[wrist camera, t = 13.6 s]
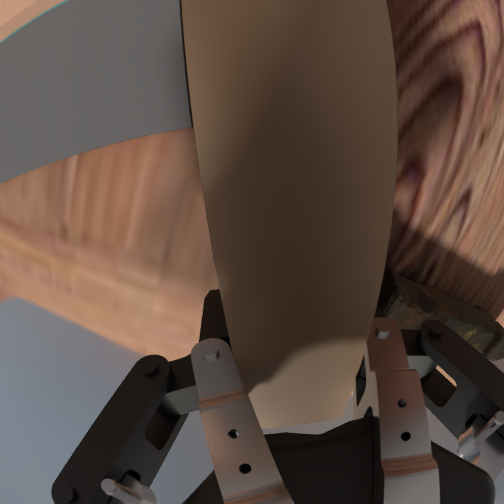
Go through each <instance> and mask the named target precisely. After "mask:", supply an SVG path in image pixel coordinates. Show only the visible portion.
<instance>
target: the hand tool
mask: <svg viewBox="0 0 504 504" xmlns="http://www.w3.org/2000/svg"><path fill="white" fill-rule="evenodd" d="M377 305H378V307H379V309H380V311H381V312H382V314H383V316H384V317H385V318H389V319H391V320H393V321H395V322H396V323H397V324H398V326H399V327H400V329H411V330H419V329H420V327H421V325H422V323H423V322H425V321H427V320H438V321H441V322H443V323H444V324H446V325H447V326H448V327H450V328H451V329H452V330H453V331H455V332H456V333H457V334H458V335H459V336H461V337H462V338H463V339H464V340H466V341H467V342H468V343H469V344H470V345H472V346H473V347H474V348H475V349H476V350H477V351H479V352H480V353H481V354H482V355H483V356H485V357H486V358H487V359H488V360H492V361H494V360H495V359H496V360H499V359H502V358H504V328H503V327H502V326H501V325H500V324H499V323H498V322H497V321H495V320H494V319H493V318H492V317H491V315H490V314H488V313H487V312H486V310H484V309H483V308H482V307H480V306H477V307H476V308H474V307H473V306H471V305H468V304H466V303H464V302H463V301H461V300H459V299H455V298H452V297H450V296H448V295H445V294H444V293H443V292H440V291H438V290H437V289H435V288H433V287H431V286H429V285H423V284H421V283H416V282H414V281H411V280H409V279H406V278H403V277H401V276H399V275H397V274H396V273H395V271H394V270H393V269H392V267H391V266H390V265H389V264H388V263H385V269H384V274H383V279H382V284H381V289H380V294H379V298H378V303H377Z"/></svg>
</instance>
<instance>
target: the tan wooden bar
mask: <svg viewBox="0 0 504 504" xmlns="http://www.w3.org/2000/svg"><path fill="white" fill-rule="evenodd" d="M181 1H182V16H183V29H184V41H185V52H186V63H187V73H188V82H189V92H190V100H191V109H192V117H193V125H194V133H195V141H196V148H197V155H198V162H199V169H200V176H201V183H202V190H203V196H204V202H205V209H206V215H207V221H208V227H209V233H210V239H211V245H212V250H213V256H214V262H215V267H216V273H217V278H218V283H219V289H220V294H221V299H222V304H223V309H224V314H225V319H226V324H227V329H228V334H229V339H230V344H231V348H232V353H233V357H234V360H235V363H236V366H237V369H238V372H239V375H240V377H241V380H242V383H243V386H244V389H245V391H247V393H248V395H249V398H250V400H251V403H252V406H253V408H254V411H255V414H256V416H257V419H258V421H259V424H260V427H261V429H267V428H277V427H285V426H293V425H300V424H307V423H313V422H318V421H324V420H329V419H334V418H339V417H342V416H343V414H344V411H345V409H346V406H347V403H348V401H349V398H350V395H351V392H352V390H353V382H354V379H355V377H356V376H357V375H358V372H359V369H360V365H361V362H362V359H363V356H364V346H365V343H366V340H368V338H369V335H370V331H371V327H372V323H373V319H374V315H375V311H376V307H377V303H378V298H379V294H380V289H381V284H382V279H383V274H384V269H385V263H386V257H387V251H388V245H389V238H390V231H391V224H392V216H393V207H394V197H395V186H396V172H397V151H398V99H397V79H396V66H395V56H394V47H393V39H392V31H391V25H390V19H389V13H388V8H387V2H386V0H181Z"/></svg>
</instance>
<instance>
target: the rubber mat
mask: <svg viewBox="0 0 504 504" xmlns="http://www.w3.org/2000/svg"><path fill="white" fill-rule="evenodd" d="M190 127H193V123H192V114H191V106H190V98H189V89H188V80H187V70H186V60H185V49H184V38H183V25H182V12H181V0H69V1H67V2H65V3H63V4H61V5H59V6H57V7H55V8H54V9H52V10H50V11H48V12H47V13H45V14H43V15H41V16H40V17H38V18H37V19H35V20H33V21H32V22H30V23H29V24H27V25H26V26H24V27H23V28H21V29H20V30H18V31H17V32H16V33H14V34H13V35H11V36H10V37H9V38H7V39H6V40H5V41H3V42H2V43H1V44H0V184H1V183H3V182H5V181H7V180H10V179H12V178H14V177H17V176H19V175H21V174H24V173H26V172H29V171H31V170H34V169H36V168H39V167H41V166H44V165H47V164H49V163H52V162H55V161H58V160H61V159H64V158H67V157H70V156H73V155H76V154H79V153H82V152H85V151H89V150H92V149H95V148H99V147H103V146H106V145H110V144H114V143H118V142H121V141H126V140H130V139H134V138H138V137H143V136H147V135H152V134H157V133H162V132H167V131H172V130H178V129H184V128H190Z"/></svg>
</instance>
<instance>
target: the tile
mask: <svg viewBox="0 0 504 504" xmlns="http://www.w3.org/2000/svg"><path fill="white" fill-rule="evenodd" d="M67 1H69V0H0V44H1V43H2V42H3V41H5V40H6V39H7V38H9V37H10V36H11V35H13V34H14V33H16V32H17V31H18V30H20V29H21V28H23V27H24V26H26V25H27V24H29V23H30V22H32V21H33V20H35V19H37V18H38V17H40V16H41V15H43V14H45V13H47V12H48V11H50V10H52V9H54V8H55V7H57V6H59V5H61V4H63V3H65V2H67Z"/></svg>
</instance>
